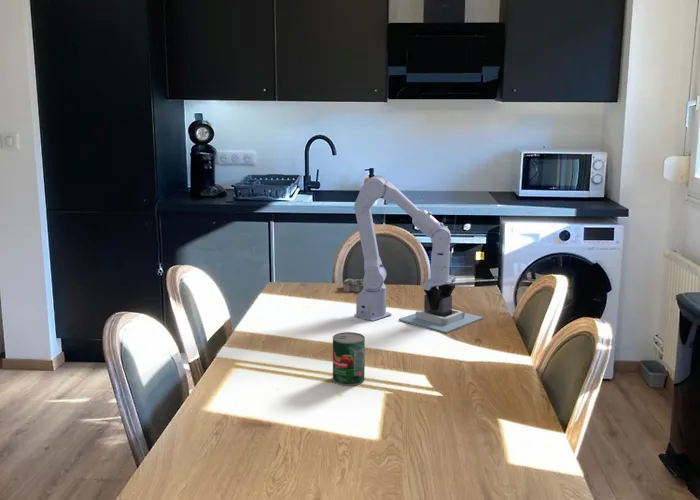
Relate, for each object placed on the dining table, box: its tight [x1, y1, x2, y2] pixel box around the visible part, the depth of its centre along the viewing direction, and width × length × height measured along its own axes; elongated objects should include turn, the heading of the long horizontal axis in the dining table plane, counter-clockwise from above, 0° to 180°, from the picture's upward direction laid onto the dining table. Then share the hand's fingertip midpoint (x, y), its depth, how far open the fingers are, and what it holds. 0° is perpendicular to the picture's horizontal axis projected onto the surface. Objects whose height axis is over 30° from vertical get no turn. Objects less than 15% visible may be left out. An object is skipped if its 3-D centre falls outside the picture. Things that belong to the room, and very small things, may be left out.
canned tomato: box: [332, 331, 366, 387], centre depth 177 cm, size 8×8×11 cm
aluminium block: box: [423, 294, 453, 317], centre depth 226 cm, size 5×7×6 cm
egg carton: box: [342, 278, 364, 293], centre depth 261 cm, size 11×8×4 cm
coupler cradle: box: [398, 308, 484, 334], centre depth 226 cm, size 20×18×2 cm
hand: (438, 308), depth 226 cm, fingers closed on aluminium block, 5 cm apart
